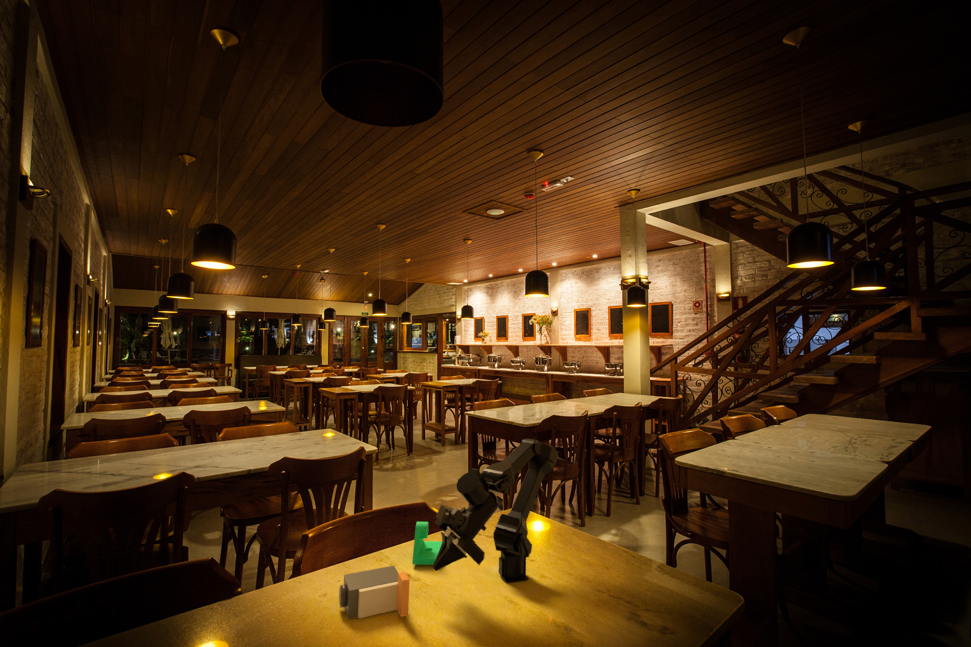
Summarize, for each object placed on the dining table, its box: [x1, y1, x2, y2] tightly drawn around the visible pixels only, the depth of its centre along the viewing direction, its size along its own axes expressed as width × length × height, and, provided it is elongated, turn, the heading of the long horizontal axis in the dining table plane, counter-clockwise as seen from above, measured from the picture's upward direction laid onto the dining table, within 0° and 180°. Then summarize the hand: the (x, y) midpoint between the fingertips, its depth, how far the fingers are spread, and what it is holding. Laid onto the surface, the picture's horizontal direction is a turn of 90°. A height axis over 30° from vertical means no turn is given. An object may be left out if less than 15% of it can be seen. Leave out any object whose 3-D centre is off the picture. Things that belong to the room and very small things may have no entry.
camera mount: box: [411, 521, 442, 566], centre depth 126 cm, size 12×8×10 cm, turn 1°
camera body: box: [338, 565, 399, 620], centre depth 101 cm, size 13×8×6 cm, turn 116°
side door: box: [357, 571, 411, 619], centre depth 96 cm, size 10×5×8 cm, turn 116°
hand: (434, 569), depth 101 cm, fingers closed
